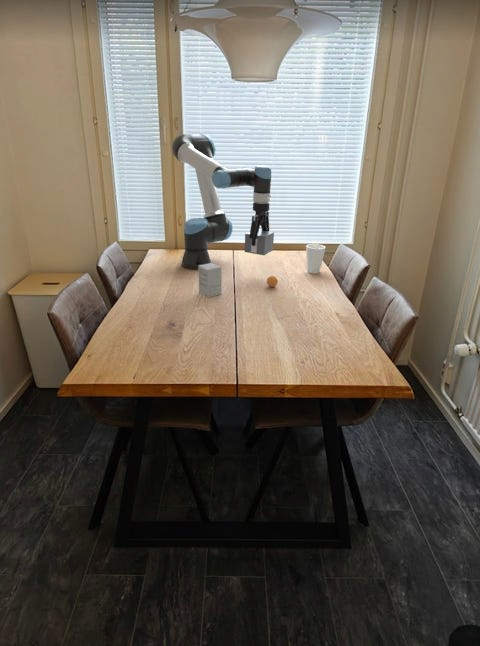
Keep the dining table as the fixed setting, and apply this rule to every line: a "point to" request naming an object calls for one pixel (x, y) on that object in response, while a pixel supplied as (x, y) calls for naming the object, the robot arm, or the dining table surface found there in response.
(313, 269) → the foam cup
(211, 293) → the supplement box
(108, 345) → the dining table surface
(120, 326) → the dining table surface
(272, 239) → the grey square block
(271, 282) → the orange egg
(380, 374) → the dining table surface
